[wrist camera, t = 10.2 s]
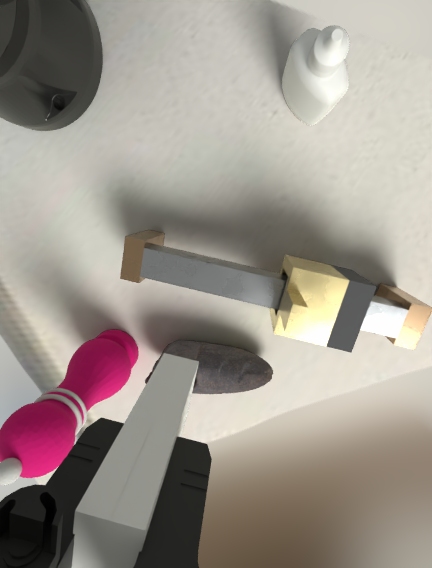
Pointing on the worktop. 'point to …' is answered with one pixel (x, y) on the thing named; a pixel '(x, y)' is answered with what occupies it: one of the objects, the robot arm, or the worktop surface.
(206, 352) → the perforated stone tool
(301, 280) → the sleeve
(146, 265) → the bar clamp
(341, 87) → the eye dropper bottle
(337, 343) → the ring
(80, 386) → the pepper mill
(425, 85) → the worktop surface
